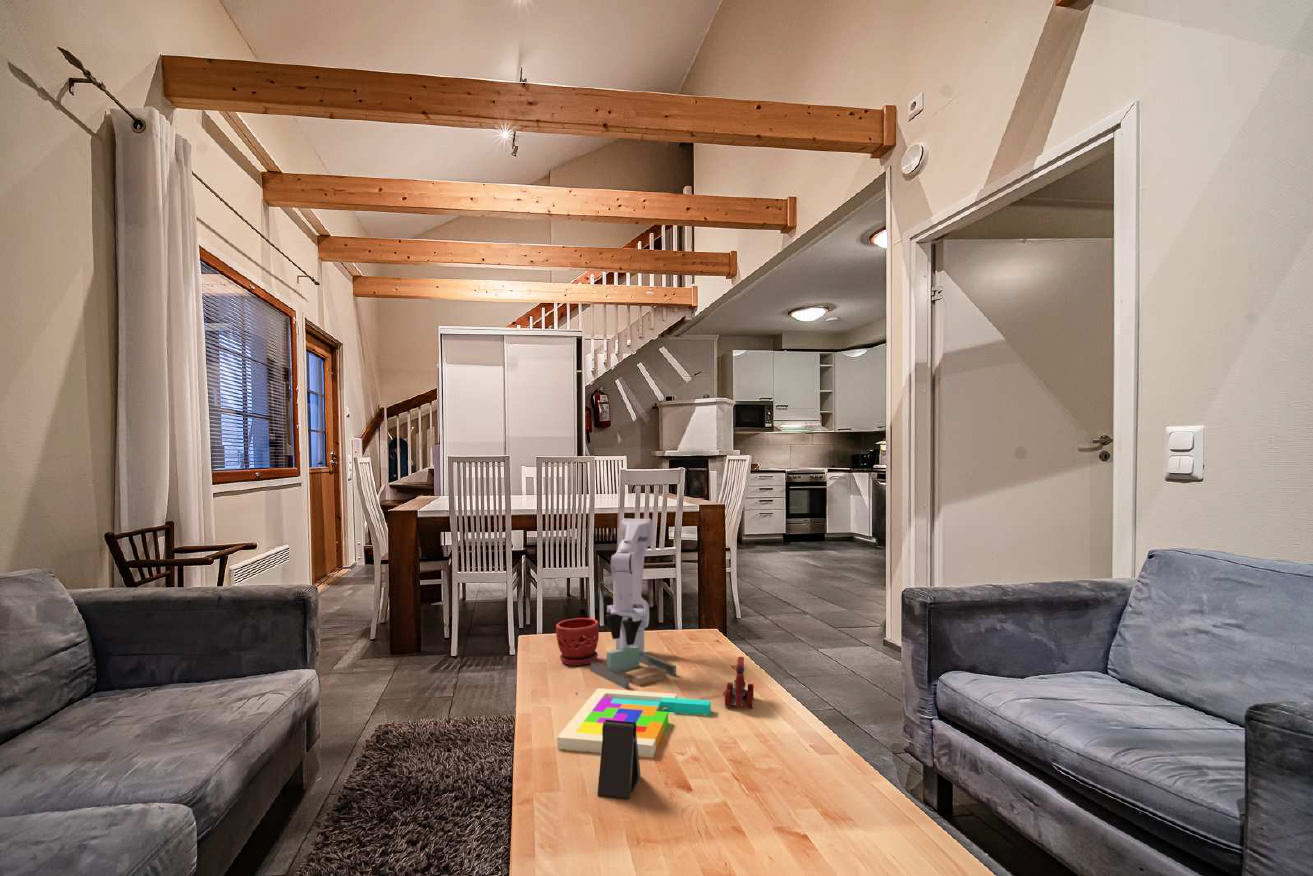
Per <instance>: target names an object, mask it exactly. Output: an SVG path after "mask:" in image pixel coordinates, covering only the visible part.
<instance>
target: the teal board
mask: <svg viewBox="0 0 1313 876" xmlns="http://www.w3.org/2000/svg"><path fill="white" fill-rule="evenodd" d="M606 667H608V668H610V669H612V670H614V671H616V672H618V673H619V672H621V671H626V670H631V669H633V668H639V667H640V662H639V647H637V646H632V647H627V648H622V649H618V650H616V649H614V650H609V651H606Z"/></svg>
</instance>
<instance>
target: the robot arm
mask: <svg viewBox="0 0 1313 876" xmlns="http://www.w3.org/2000/svg"><path fill="white" fill-rule="evenodd" d="M620 529H621V530H620V532H621V536H622V540H621V541H619V545H618V547H617V550H616V552H615V553H614V554H612V555H611V559H610V570H611V579H612V580H613V581H612V585H613V586H612V587H613V589H612V590H613V591H612V592H613V594H612V595H613V596H612V598H613V599H612V601H613V602H612V603H613V604H610V605H606V613H608V614H605V615H604V618H605V620H606V621H607V624H608V626H609V629H610V634H611V638H612V640H615V650H618V649H622V648H627V647H632V646H637V647H639V651H641V652H643V653H645V629H647V628H648V626H649V623H650V604H649V602H648V601H647V600H645V599H644V598H643V597H642V592H643V591H642V590H643V577H644V564H645V555H646V550H647V549H648V547H650V546H652V542H653V534H654V533H653V530H654V524H653V520H652V519H651V518H625V517H624V518H623V519H622V520H621V528H620Z"/></svg>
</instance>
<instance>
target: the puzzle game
mask: <svg viewBox="0 0 1313 876" xmlns="http://www.w3.org/2000/svg"><path fill="white" fill-rule="evenodd" d="M677 697H678V694H677V693H670V692H669V693H668V692H657V691H642V690H641V691H640V690H628V689H625V690H623V689H611V688H596V690H595V691H594V692H593V694H591V696H590V697H589V698H588V699H587V700H586V702H585V703H584V704H583V705H582V707H581V708H580V709H579V710H578V712H577V713H576V714H575V715H574V716H573V718H572V719H571V720H570V721H569V723H567V725H566V726H565V727H564V728H563V730H562V731H561V732H560V733H559V734H558V736H557V737H556V749H557V750H563V749H566V750H565V751H574V750H575V751H574V752H585V751H591V752H590V753H596V752H601V750H602V728H603V723H604V722H606V721H605V720H615V721H626V722H636V727H637V729H636V736H637V746H638V755H639V757H640V756H642V757H641V758H653V757H654V756H655V753H656V750H657V749H658V747H657V746H659V744H660V741H662V738H661V737H663V736H664V734H665V731H666V729H667V727H668V725H669V712H673V714H682V713H684V714H685V715H695V714H706V715H705V716H708V715H709V714H710V715H711V710H712V709H711V707H712V706H711V702H712V701H711V700H707V699H695V698H694V699H693V698H680V697H678V698H677ZM661 707H666V708H662V709H660V708H661ZM710 715H709V716H710Z"/></svg>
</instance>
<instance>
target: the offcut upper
mask: <svg viewBox="0 0 1313 876" xmlns="http://www.w3.org/2000/svg"><path fill="white" fill-rule="evenodd" d="M624 676H626V677H629V682H631V683H633V684H635V685H634V686H636V685H638V686H637V687H640V686H642V685H647V684H649V683H653V682H657V680H658V681H661V680H665V679H666V678H668V677H667V676H668V674H667V670H664V669H661V668H659V667H656V666H654V665H651V666H648V665H647V666H645V667H641V668H636V669H633V670H630V671H626V672H624ZM664 678H665V679H664ZM660 679H661V680H660ZM631 683H630V684H631ZM633 684H632V685H633Z"/></svg>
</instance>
